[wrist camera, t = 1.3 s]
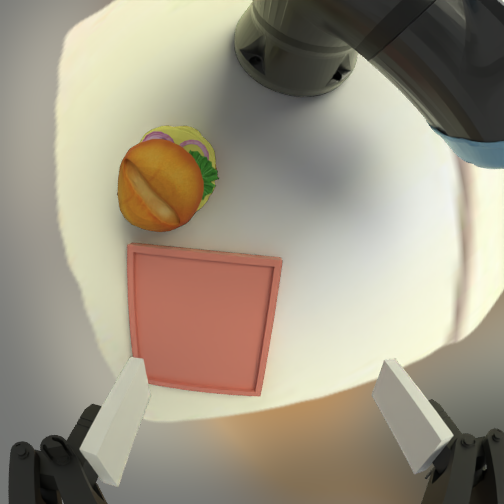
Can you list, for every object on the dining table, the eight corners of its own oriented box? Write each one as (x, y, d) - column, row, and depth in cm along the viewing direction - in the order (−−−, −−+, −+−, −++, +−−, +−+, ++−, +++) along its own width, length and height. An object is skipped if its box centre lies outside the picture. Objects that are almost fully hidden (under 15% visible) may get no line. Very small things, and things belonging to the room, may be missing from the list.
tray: (132, 242, 31) (127, 244, 29) (280, 257, 32) (282, 260, 31) (139, 375, 35) (136, 381, 34) (259, 389, 36) (260, 396, 35)
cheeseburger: (237, 142, 29) (226, 148, 20) (205, 224, 33) (185, 261, 24) (157, 115, 28) (117, 113, 19) (133, 196, 32) (92, 223, 23)
